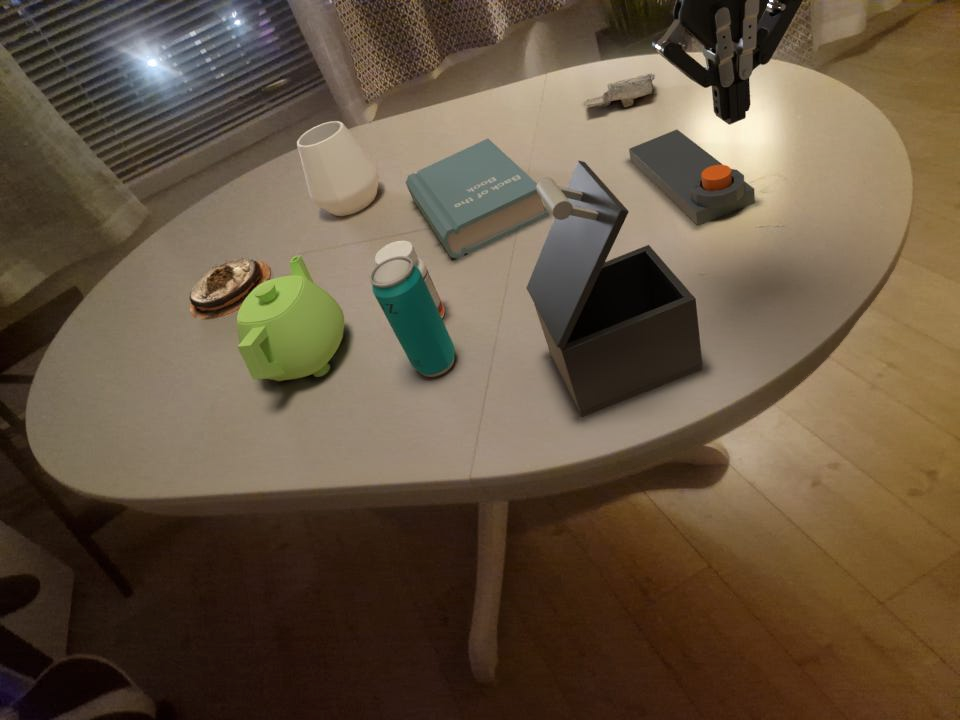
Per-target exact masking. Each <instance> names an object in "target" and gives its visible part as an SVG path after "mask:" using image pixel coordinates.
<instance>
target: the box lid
mask: <svg viewBox="0 0 960 720" xmlns="http://www.w3.org/2000/svg"><path fill="white" fill-rule="evenodd" d="M536 183H537V186H536V190H537V193H538V194H539V196H540V197H541V200H542V202H543V203H544V205H545V206H546V207H547V209H548V210H549V211H550V214H551V215H552V216H553V218H554V219H553V221H552V224H551V226H550V229H549V231H548V233H547V236H546V238H545V241H544V243H543V245H542V248H541V250H540V253H539V256H538V258H537V261H536V263H535V265H534V268H533V269H532V270H533V271H532V272H531V276H530V277H529V280H528V282H527V284H526V287H525V288H526V290H527V292H528V294H529V296H530V298H531V300H532V302H533V304H535V305H534V307H535V306H536V308H537V310H538V312H539V313H540V315H541V317H542V319H543V321H544V323H545V325H546V327H547V329H548V331H549V333H550V335H551V337H552V339H553V340H554V342H555V344H556V346H557V347H558V348H565V345H566V343H567V341H568V339H569V337H570V335H571V333H572V331H573V329H574V326H575V324H576V322H577V320H578V318H579V316H580V314H581V312H582V310H583V307H584V305H585V303H586V301H587V299H588V297H589V295H590V293H591V290H592V288H593V286H594V284H595V282H596V280H597V278H598V276H599V274H600V271H601V269H602V267H603V265H604V263H605V262H607V259H608V256H609V254H610V252H611V250H612V249H613V247H614V244H615V242H616V240H617V237H618V236H619V233H620V231H621V229H622V227H623V225H624V223H625V220H626V219H627V217H628V215H629V213H630V211H629V210H628V209H627V208H626V206H625V205H624V204H623V203H622V202H621V201H620V199H619V198H618V197H617V196H616V195H615V194H614V193H613V192H612V191H611V189H609V187H608V186H607V185H606V184H605V183H604V182H603V180H601V179H600V177H599V176H598V175H597V174H596V173H595V172H594V170H593V169H592V168H591V167H590V166H589V165H588V164H587V162H585V161H582V160H577V162H576V163H575V167H574V169H573V172H572V175H571V177H570V180H569V182H568V184H567V187H563V186H559V185H558V184H557V182H556V181H555V180H554V179H553V178H552V177H549V176H545V177H542V178H540V180H538V182H536ZM536 308H535V309H536Z"/></svg>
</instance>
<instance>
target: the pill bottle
mask: <svg viewBox="0 0 960 720" xmlns="http://www.w3.org/2000/svg"><path fill="white" fill-rule="evenodd" d="M396 256H406V257H409V258H410V259H411V260H412V261H413V264H414V265H415V266H416V267H417V268H419V270H420V272H421V274H422V276H423V279H424V281H425V283H426V285H427V287H428V290H429V292H430V294H431V296H432V298H433V301H434V303H435V305H436V307H437V309H438V311H439V314H440V316H441V318H442V319H444V315H445V307H444V304H443V302H442V299H441V297H440V295H439V293H438V291H437V289H436V286H435V283H434V281H433V279H432V277H431V275H430V272H429V270H428V267H427V265H426V263H425V262H424V260H423V259H421V258H420V257H419V256H418V253H417V251H416V250H415V248H414V245H413V244H412V242H410V241H408V240H397V241H392V242H391V243H388V244H386V245H384V246H383V247H382V248H380V249H379V250H378V251H377V253H376V254H375V256H374V262H375V264H376V266H377V265H378V264H380V263H381V262H383V261H385V260H387V259H389V258H392V257H396Z"/></svg>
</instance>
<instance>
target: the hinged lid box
mask: <svg viewBox="0 0 960 720" xmlns="http://www.w3.org/2000/svg"><path fill="white" fill-rule="evenodd" d="M533 304H534V303H533ZM533 306H534V307H535V311H536V314H537V317H538V320H539V323H540V326H541V329H542V332H543V336H544V339H545V342H546V346H547V349H548V351H549V354H550V357H551V359H552V361H553V363H554V365H555V367H556V369H557V371H558V373H559V375H560V377H561V379H562V381H563V383H564V385H565V387H566V389H567V391H568V393H569V395H570V397H571V399H572V401H573V403H574V405H575V407H576V410H577V411H578V413H579V415H580V417H585V416H587V415H590V414H593V413H595V412H598V411H600V410H602V409H606V408H608V407H610V406H613V405H615V404H618V403H621V402H623V401H625V400H628V399H631V398H634V397H636V396H638V395H641V394H643V393H646V392H649V391H652V390H653V389H656V388H658V387H659V388H660V387H661V386H664V385H667V384H669V383H672V382H675V381H676V380H679V379H681V378H685V377H686V376H689V375H692V374H694V373H697V372H699V371H703V357H702V347H701V337H700V328H699V327H700V326H699V317H698V309H697V299H696V297H695V296H694V295H693V294H692V292H691V291H690V290H689V289H688V288H687V287H686V286H685V284H684V283H683V282H682V281H681V280H680V279H679V277H677V275H676V274H675V273H674V272H673V271H672V270H671V268H670V267H669V266H668V265H667V264H666V263H665V261H663V259H662V258H661V257H660V256H659V255H658V253H657V252H656V251H655V250H654V249H653V248H652V246H651V245H650V244H647V245H644V246H642V247H639V248H637V249H635V250H631V251H629V252H627V253H624V254H621V255H620V256H617V257H615V258H612V259H609V260H606V261H605V263H604V265H603V267H602V269H601V271H600V274H599V276H598V278H597V280H596V282H595V284H594V286H593V288H592V290H591V293H590V295H589V297H588V299H587V301H586V303H585V305H584V307H583V310H582V312H581V314H580V316H579V318H578V320H577V322H576V324H575V326H574V329H573V331H572V333H571V335H570V337H569V339H568V341H567V343H566V345H565V348H558V347H557V346H556V344H555V342H554V340H553V339H552V337H551V335H550V333H549V331H548V329H547V327H546V325H545V323H544V321H543V319H542V317H541V315H540V313H539V312H538V310H537V308H536V306H535V304H534V305H533Z"/></svg>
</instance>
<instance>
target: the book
mask: <svg viewBox="0 0 960 720" xmlns="http://www.w3.org/2000/svg"><path fill="white" fill-rule="evenodd" d="M537 183H538V182H536V181H535V180H534V179H533V178H532V177H531V176H530V175H529V174H528V173H526V171H524V170H523V169H522V168H521V167H520V166H519V165H517V164H516V162H515V161H514V160H512V158H510V157H509V156H508V155H507V154H506V153H505V152H503V150H502V149H500V147H499V146H497V144H495V143H494V142H493V141H492V140H491V139H489V138H486V139H484V140H482V141H479V142H477V143H474V144H473V145H470V146H469V147H466V148H465V149H462V150H460V151H458V152H455V153H453V154H451V155H449V156H447V157H445V158H443V159H440V160H438V161H436V162H434V163H432V164H429V165H427V166H426V167H424V168H422V169H419V170H417V172H416V173H414V172H413V173H410V174H409V175H408V176H407V178H406V180H405V185H406V187H407V190H408V192H409V194H410V197H411V199H412V201H413V202H414V203H415V205H416V206H417V208H418V209H419V211H420V212H421V214H422V216H423V217H424V219H425V220H426V222H427V223H428V225H429V227H430V228H431V230H432V231H433V232H434V234H435V235H436V237H437V239H438V240H439V242H440V243H441V245H442V246H443V248H444V250H445V251H446V253H447V254H448V256H449V257H450V258H452V259H457V260H459V259H461V258H463V257H465V254H471V253H473V252H475V251H478V250H479V249H481V248H483V247H484V248H485V247H486V246H488V245H490V244H492V243H495V242H497V241H498V240H500V239H504V238H505V237H507V236H509V235H511V234H514V233H515V232H518V231H520V230H521V229H523V228H525V227H527V226H530V225H532V224H534V223H536V222H538V221H540V220H542V219H545V218H546V217H548V216H549V212H548V211H547V210H546V209H545V208H544V204H543V200H542V198H541V197H540V196H539V194H538V193H537V190H536V186H537Z"/></svg>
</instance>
